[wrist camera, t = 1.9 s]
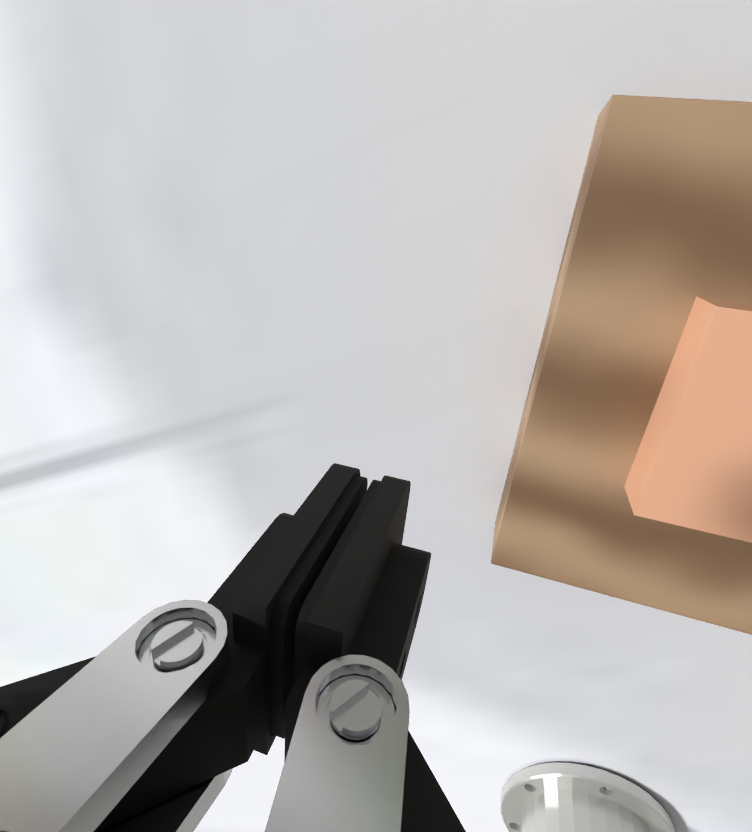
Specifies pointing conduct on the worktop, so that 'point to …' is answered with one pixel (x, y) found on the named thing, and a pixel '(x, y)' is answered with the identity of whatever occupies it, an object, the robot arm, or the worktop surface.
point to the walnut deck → (632, 358)
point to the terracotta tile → (702, 428)
